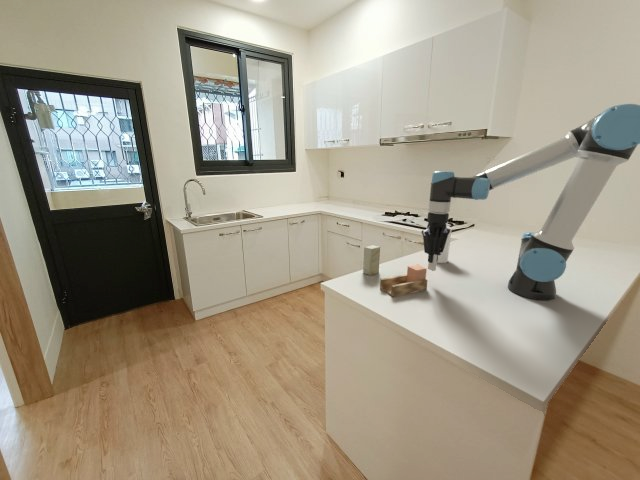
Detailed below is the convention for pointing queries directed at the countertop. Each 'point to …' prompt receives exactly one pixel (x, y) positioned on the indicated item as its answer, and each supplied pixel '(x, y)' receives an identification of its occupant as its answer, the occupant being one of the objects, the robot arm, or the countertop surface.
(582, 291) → the countertop surface
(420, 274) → the block
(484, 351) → the countertop surface
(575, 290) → the countertop surface
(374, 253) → the skincare box
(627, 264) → the countertop surface
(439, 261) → the cup
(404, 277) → the chute
